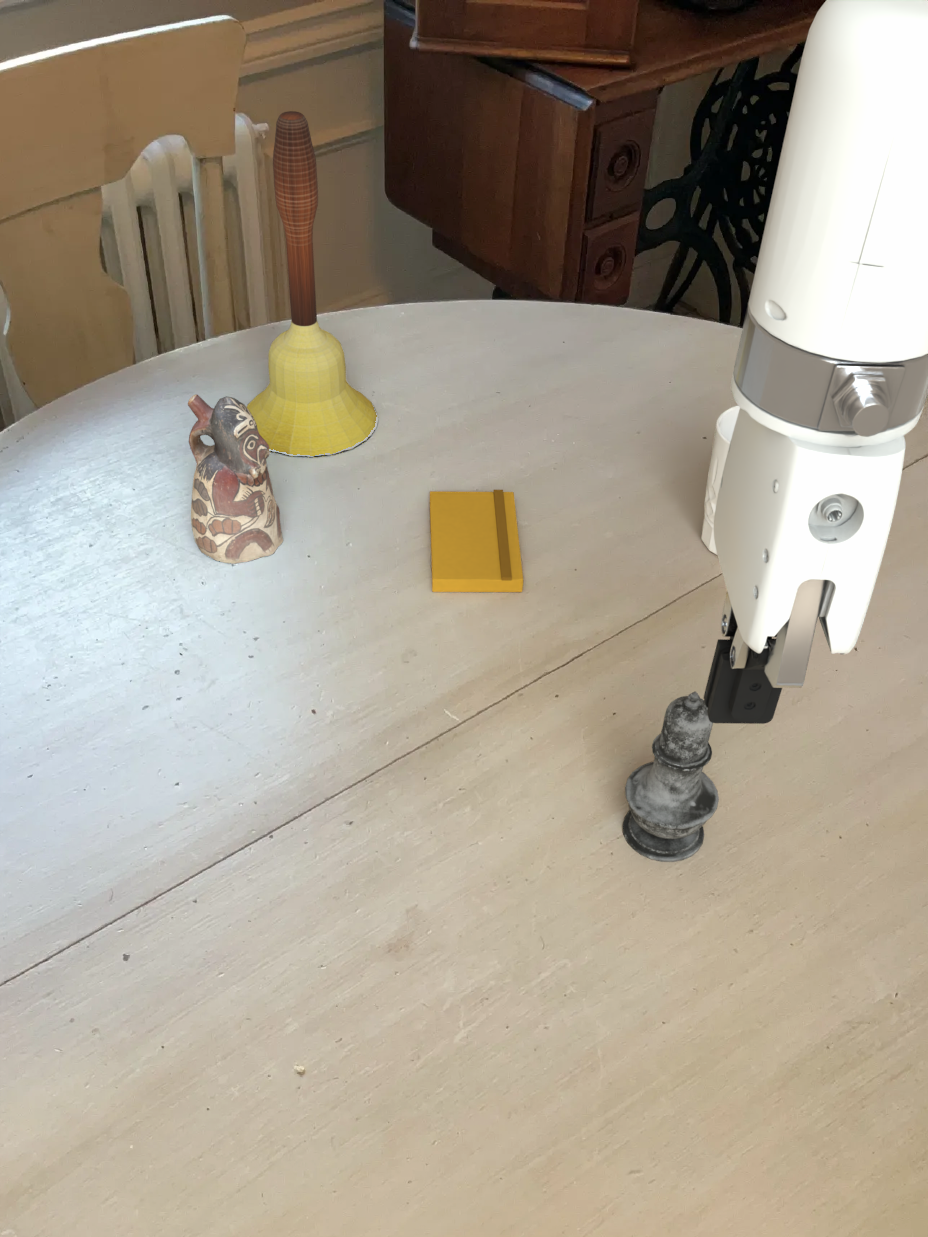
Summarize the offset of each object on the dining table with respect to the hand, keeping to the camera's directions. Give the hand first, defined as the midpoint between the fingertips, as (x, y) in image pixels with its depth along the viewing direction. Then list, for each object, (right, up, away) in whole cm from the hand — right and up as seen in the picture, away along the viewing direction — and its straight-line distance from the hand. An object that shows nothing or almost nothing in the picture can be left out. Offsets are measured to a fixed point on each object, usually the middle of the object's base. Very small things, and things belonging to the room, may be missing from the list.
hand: (736, 712), depth 63 cm
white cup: (+10, +19, +40) cm, 46 cm away
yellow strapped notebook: (-12, +18, +39) cm, 44 cm away
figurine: (-31, +18, +39) cm, 53 cm away
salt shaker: (0, -6, +19) cm, 20 cm away
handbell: (-27, +32, +51) cm, 66 cm away
